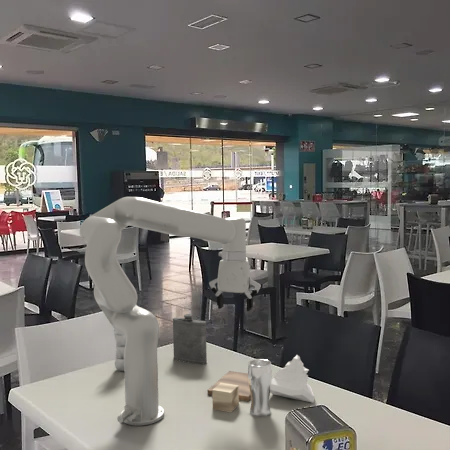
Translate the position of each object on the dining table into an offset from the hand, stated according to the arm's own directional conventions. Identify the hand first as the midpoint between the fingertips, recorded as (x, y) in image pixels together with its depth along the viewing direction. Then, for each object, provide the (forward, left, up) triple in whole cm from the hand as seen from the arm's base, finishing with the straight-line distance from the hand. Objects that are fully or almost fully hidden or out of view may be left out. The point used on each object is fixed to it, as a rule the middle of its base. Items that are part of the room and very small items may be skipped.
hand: (234, 308), depth 166 cm
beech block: (-12, -2, -27) cm, 30 cm away
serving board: (+3, 0, -27) cm, 27 cm away
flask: (+20, +27, -27) cm, 43 cm away
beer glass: (-12, -13, -27) cm, 32 cm away
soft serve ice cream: (+2, -19, -27) cm, 33 cm away
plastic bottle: (+3, +45, -27) cm, 53 cm away
